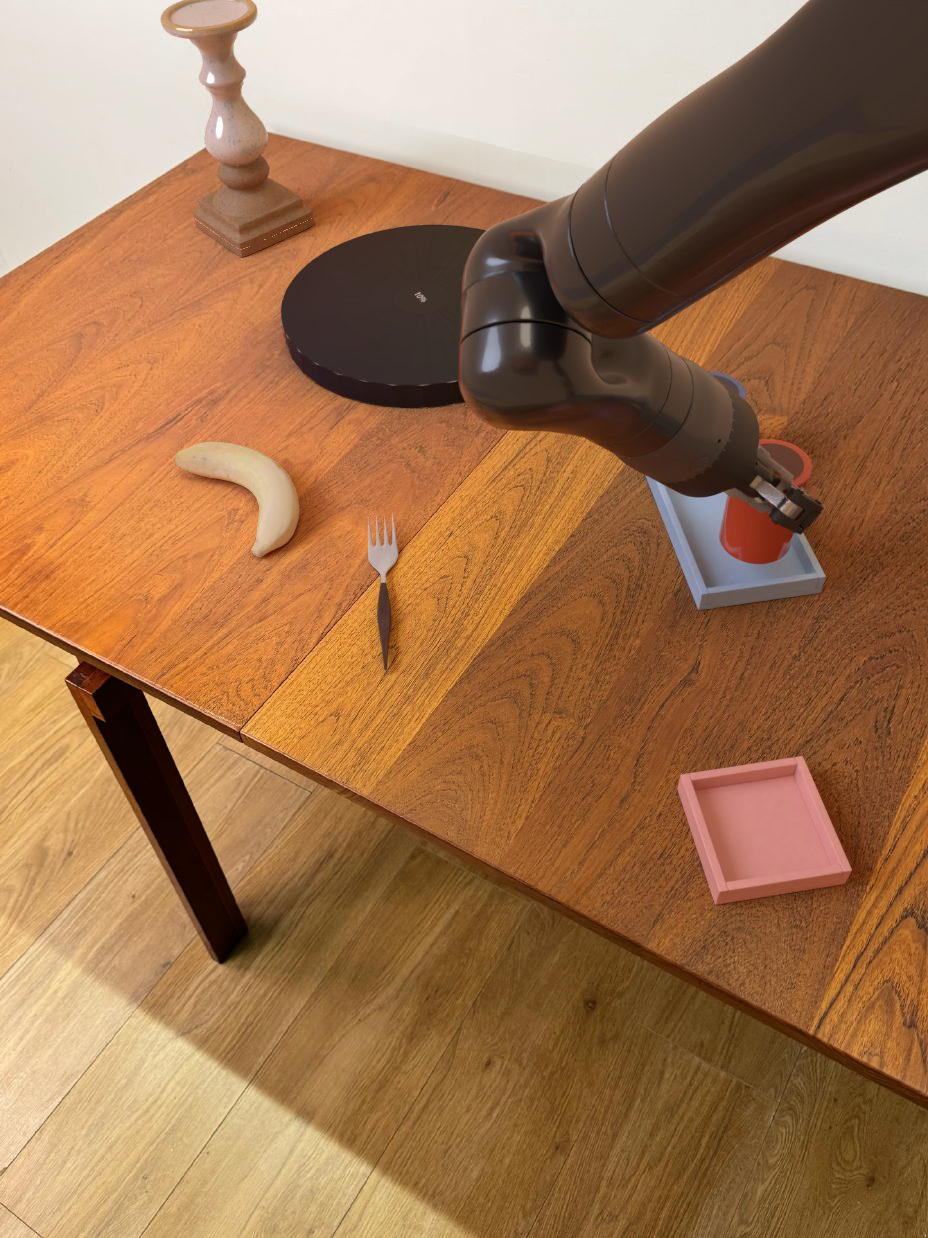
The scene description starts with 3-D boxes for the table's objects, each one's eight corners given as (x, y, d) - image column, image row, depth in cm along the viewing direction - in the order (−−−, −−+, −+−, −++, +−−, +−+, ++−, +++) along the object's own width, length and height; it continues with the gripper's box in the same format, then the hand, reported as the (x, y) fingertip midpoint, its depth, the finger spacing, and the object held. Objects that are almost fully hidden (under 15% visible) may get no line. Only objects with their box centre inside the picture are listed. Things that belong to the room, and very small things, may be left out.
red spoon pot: (776, 510, 82) (796, 433, 76) (801, 559, 78) (824, 482, 72) (709, 519, 82) (724, 443, 75) (731, 569, 78) (749, 492, 72)
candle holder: (242, 258, 118) (190, 39, 100) (194, 225, 124) (136, 12, 105) (317, 224, 122) (280, 8, 104) (267, 193, 128) (224, -17, 110)
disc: (621, 323, 106) (623, 298, 104) (397, 449, 95) (394, 424, 92) (444, 220, 122) (443, 197, 119) (233, 318, 110) (227, 294, 108)
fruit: (243, 441, 96) (235, 414, 94) (327, 524, 89) (321, 496, 86) (177, 474, 94) (167, 447, 91) (258, 563, 86) (249, 536, 83)
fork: (369, 675, 78) (366, 660, 76) (368, 530, 88) (365, 514, 86) (402, 672, 78) (400, 657, 76) (397, 528, 88) (395, 512, 86)
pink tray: (797, 770, 70) (803, 755, 69) (844, 884, 65) (852, 870, 63) (677, 789, 70) (680, 774, 68) (714, 905, 64) (719, 892, 63)
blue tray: (740, 434, 94) (744, 417, 92) (820, 593, 81) (826, 576, 79) (634, 448, 93) (636, 432, 92) (698, 610, 80) (701, 594, 79)
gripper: (794, 437, 59) (886, 506, 72) (645, 323, 67) (751, 403, 80) (712, 535, 62) (814, 586, 74) (577, 414, 70) (690, 478, 83)
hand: (781, 491), depth 77 cm, fingers closed on red spoon pot, 5 cm apart
